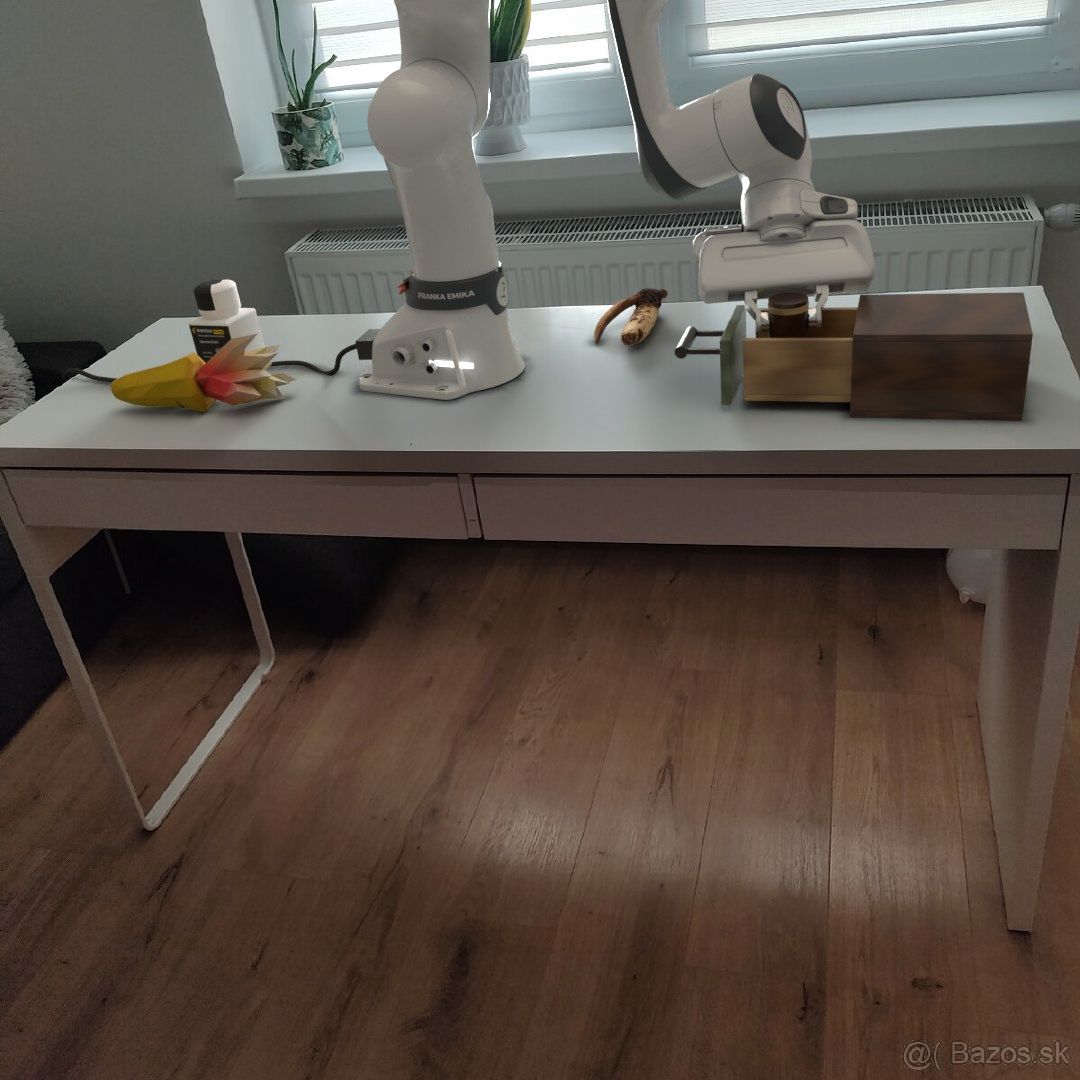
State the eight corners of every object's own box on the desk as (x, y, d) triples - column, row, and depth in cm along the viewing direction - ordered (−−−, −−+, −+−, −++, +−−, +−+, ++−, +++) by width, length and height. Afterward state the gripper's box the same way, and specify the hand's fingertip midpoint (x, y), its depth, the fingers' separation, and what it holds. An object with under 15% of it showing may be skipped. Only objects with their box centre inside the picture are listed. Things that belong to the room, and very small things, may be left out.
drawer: (672, 404, 125) (668, 340, 121) (691, 365, 135) (689, 305, 131) (870, 407, 118) (873, 340, 114) (875, 366, 128) (878, 303, 124)
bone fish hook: (611, 315, 160) (584, 355, 145) (608, 284, 157) (580, 322, 142) (673, 311, 157) (651, 352, 142) (670, 280, 155) (648, 318, 140)
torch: (136, 432, 148) (301, 399, 143) (102, 428, 141) (275, 393, 135) (127, 373, 148) (291, 338, 143) (92, 366, 140) (265, 329, 135)
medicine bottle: (200, 368, 158) (177, 289, 152) (229, 351, 163) (208, 274, 157) (239, 370, 155) (217, 290, 149) (267, 353, 161) (248, 275, 155)
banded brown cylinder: (765, 369, 125) (765, 305, 121) (770, 355, 129) (770, 292, 125) (806, 369, 123) (806, 304, 120) (810, 355, 127) (810, 291, 123)
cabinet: (849, 417, 118) (852, 334, 113) (856, 371, 129) (859, 294, 125) (1022, 420, 113) (1033, 334, 108) (1014, 372, 124) (1023, 292, 119)
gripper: (691, 215, 125) (698, 322, 122) (870, 199, 123) (883, 308, 119) (691, 243, 131) (698, 346, 128) (862, 228, 129) (874, 332, 125)
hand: (789, 327), depth 123 cm, fingers closed on banded brown cylinder, 4 cm apart
